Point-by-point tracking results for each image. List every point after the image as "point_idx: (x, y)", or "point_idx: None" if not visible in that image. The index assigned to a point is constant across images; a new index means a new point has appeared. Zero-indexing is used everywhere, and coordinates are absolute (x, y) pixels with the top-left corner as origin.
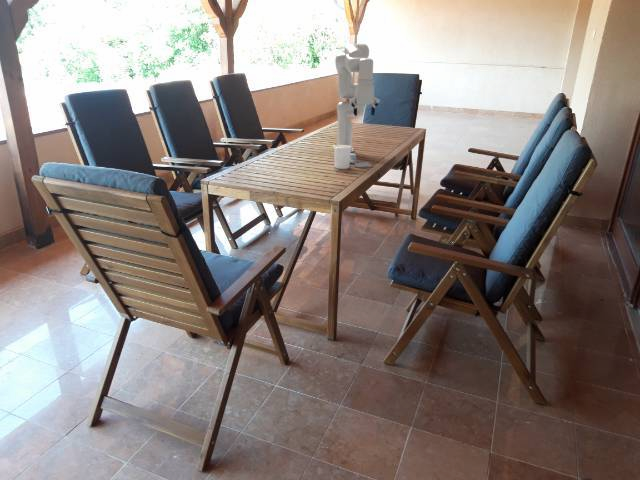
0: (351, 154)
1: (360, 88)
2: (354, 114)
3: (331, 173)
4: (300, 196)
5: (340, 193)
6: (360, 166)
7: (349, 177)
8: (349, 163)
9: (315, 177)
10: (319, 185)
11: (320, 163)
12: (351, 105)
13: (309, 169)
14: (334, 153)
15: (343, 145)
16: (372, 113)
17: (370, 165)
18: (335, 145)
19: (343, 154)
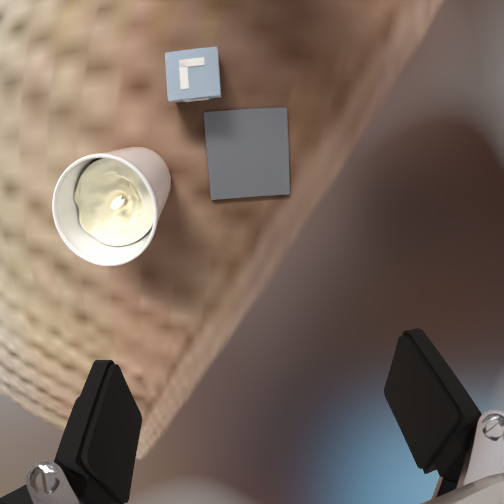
0: (194, 83)
1: None
2: (98, 374)
3: (93, 281)
4: (64, 430)
5: (139, 435)
6: (227, 194)
7: (160, 335)
8: (168, 195)
9: (52, 321)
10: (80, 387)
11: (50, 110)
12: (7, 498)
13: (16, 218)
14: (73, 208)
15: (111, 158)
16: (392, 409)
17: (282, 178)
18: (60, 181)
19: (119, 247)
